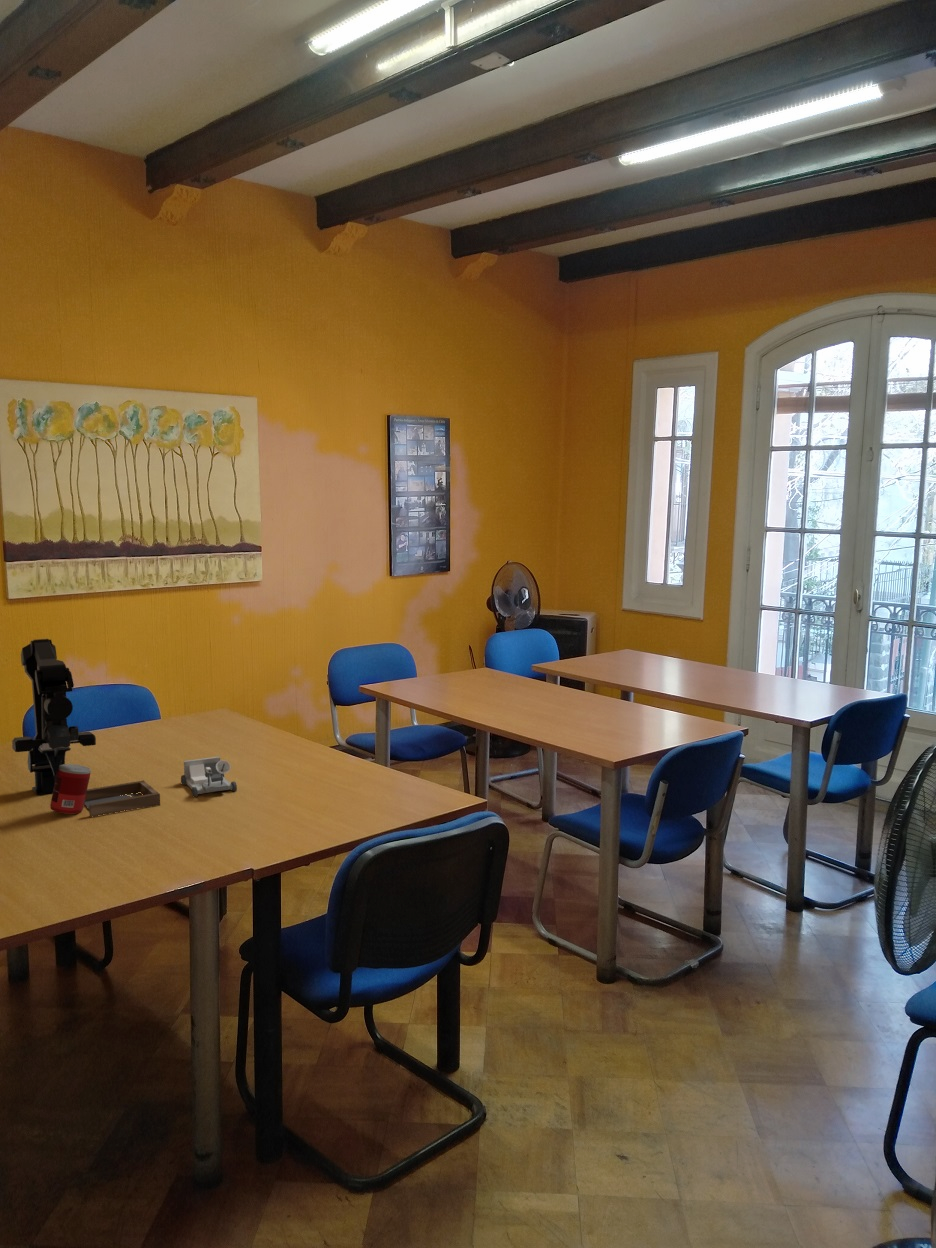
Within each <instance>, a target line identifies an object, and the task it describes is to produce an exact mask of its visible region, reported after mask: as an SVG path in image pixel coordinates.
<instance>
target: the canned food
mask: <svg viewBox="0 0 936 1248" xmlns="http://www.w3.org/2000/svg"><path fill="white" fill-rule="evenodd" d="M91 772H92V769H91V768H90V767H87V766H84V765H80V764H72V763H65V764H63V765H59V768H58V771H57V775H56V779H55V784H54V789H53V792H52V795H51V799H50V800H51V801H50V804H49V806H50V810H52V811H53V812H57V813H61V814H66V815H67V814H70V815H73V814H79V813H81V812H82V811H84V810H83V809H84V806H85V805H84V802H85V797H86V792H87V789H89V788H88V787H89V782H90V778H91Z"/></svg>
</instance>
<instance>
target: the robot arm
mask: <svg viewBox="0 0 936 1248" xmlns="http://www.w3.org/2000/svg"><path fill="white" fill-rule="evenodd" d="M20 660H21V666H23V668H24V673H25V674H26V675H27V676H28V678H29V679H30V680H31V688H32V698H33V699H32V700H33V701H32V702H33V711H34V712H33V713H34V727H35V735H34V737H33V738H32V737H31V736H19V737H18V736H17V737H14V738H13V739H12V741H11V742H12V743H11V744H12V745H11V746H12V747H11V749H12V750H13V751H14V752H15V753H24V752H28V753H27V754H28V755H27V769H28V771H29V773H31V774H32V773H34V787H32V788H31V790H32V792H34V794H35V795H36V796H39V795H44V794H45V795H46V794H51V793H52V794H53V789H54V784H55V779H56V775H57V771H58V768H59V765H63V764H66V761H65V760H66V753H67V752H68V751H71V748H72V747H71V744H80V745H81V746H82V747H90V746H96V744H97V738H96V734H93V732H91V731H79V727H78V726H77V725H73V726H68V720H67V718H69V717H70V716H71V714H72V713H73V708H74V707H73V703H72V700H70V699H69V698H68V697H67V693H70V692H71V693H72V692H73V688H74V686H75V683H74V679H73V675H72V674H73V673H72V672H71V671H70V668H69V667H67V666H66V663H65V662H64V661H63V660H59V659H58V656H57V647H56V645H55V644H53V643H52V639H49V638H38V639H33V640H30V643H29V644H27V645H25V646H24V647H22V648H21V652H20Z"/></svg>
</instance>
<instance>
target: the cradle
mask: <svg viewBox="0 0 936 1248" xmlns="http://www.w3.org/2000/svg"><path fill="white" fill-rule="evenodd" d="M138 792H141V793H142V794H143V795H142V794H141V793H140V794H141V795H140V796H136V797H130V798H124V799H118V800H112V801H106V802H100V803H94V804H89V809H90V810H89V809H88V810H89V817H90V816H91V817H90V818H93V817H92V816H96V817H99V816H98V815H102V816H104V815H103V814H107V815H110V814H109V813H113V814H116V813H115V812H118V813H121V812H120V811H124V810H125V811H124V812H127V811H126V810H130V811H132V810H131V809H135V810H138V809H137V808H141V809H144V808H143V807H147V808H151V807H150V806H152V807H157V806H156V805H158V806H161V794H160V793H159V792H158V791H157V790H156V789H154V787H152V786H151V785H150V784H149V783H148V782H146V781H145V780H143V779H142V780H137V781H133V782H132V781H131V782H125V783H120V784H119V783H118V784H112V785H107V786H100V787H99V786H98V787H95V788H94V787H93V788H87V792H86V797H85V801H91V800H97V799H103V798H109V797H115V796H120V795H125V794H131V793H138ZM138 794H139V793H138Z"/></svg>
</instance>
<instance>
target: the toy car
mask: <svg viewBox="0 0 936 1248" xmlns="http://www.w3.org/2000/svg"><path fill="white" fill-rule="evenodd" d="M183 767H184V768H183V772H184V773H183V774H182V775H181V776H180V782H181V783H182V784H183V785H182V786H186V785H187V786H188V787H189V788H190V790H191V794H192V795H193V796H194V797H196V798H198V795H200V794H207V793H214V792H221V791H229V790H231V789H232V790H233V791H236V792H237V791H238V787H237V786H238V785H237V782H236V781H231V782H230V781H229V780H227V779H226V778H225V774H227V773H228V772H230V771H231V768H232V767H231V764H230V763H229V761H227V760H221V757H220V756H212V757H204V758H197V759H189V760H184V761H183ZM181 783H180V784H181ZM185 784H186V785H185ZM232 790H231V791H232ZM233 791H232V792H233ZM193 796H192V797H193ZM194 797H193V798H194Z"/></svg>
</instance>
